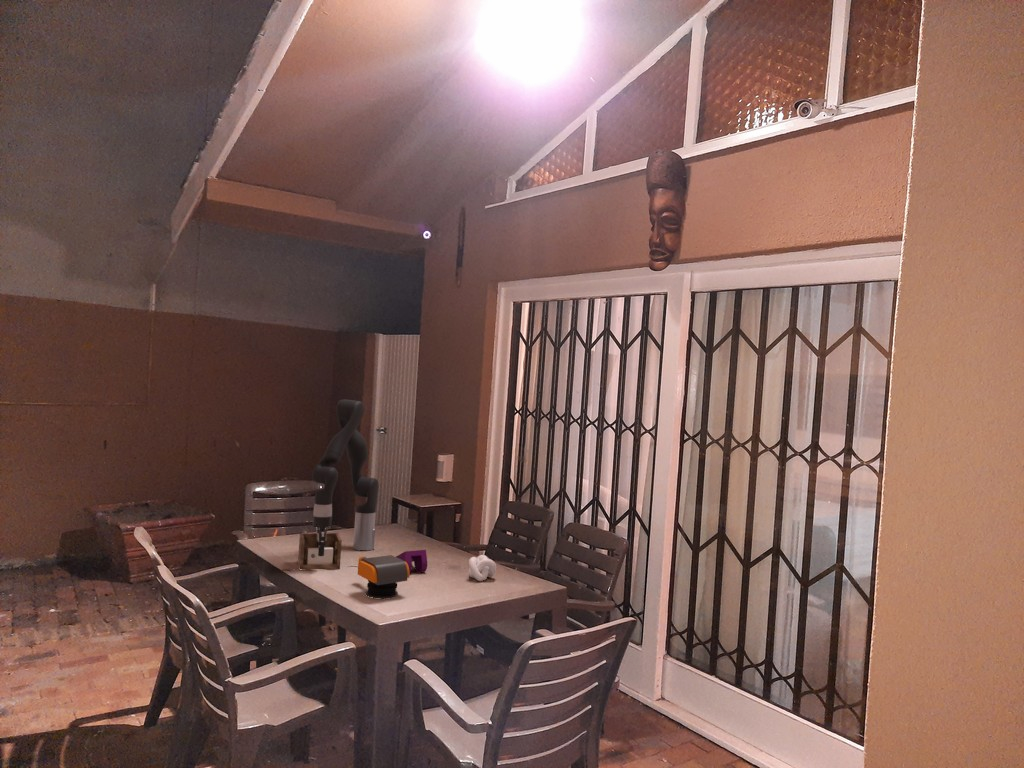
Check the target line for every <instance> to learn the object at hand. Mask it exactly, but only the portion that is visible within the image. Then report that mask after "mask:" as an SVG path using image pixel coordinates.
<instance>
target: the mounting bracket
mask: <svg viewBox="0 0 1024 768" xmlns="http://www.w3.org/2000/svg"><path fill="white" fill-rule="evenodd" d="M395 557H397V558H399V559H401V560H403V561H405V562H406V563H407V564H408V566H409V573H410V574H411V571H412V569H413V563H414V568H415V571H416V572H417V571H418V572H417V573H419V572H420V573H425V572H426V571H427V569H428V556H427V550H426V549H418V550H416V549H415V550H405V551H403V552H401V553H399V554H398V555H396V556H395Z"/></svg>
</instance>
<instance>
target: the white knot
mask: <svg viewBox="0 0 1024 768" xmlns="http://www.w3.org/2000/svg"><path fill="white" fill-rule="evenodd" d="M468 566H469V567H468V568H469V571H468V576H469V577H470V578H471V579H472V578H474V579H475V580H476V581H478V582H483V580H484V581H485V580H487V579H488V578H487V577H489V578H492V577H493V576H495V574H496V571H497V565H496V562H495V561H494V560H492V559H490V558H489V557H488V556H487V555H485V554H480V555H478V556H477V557H476V556H471V557H470V558H469V560H468Z"/></svg>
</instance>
